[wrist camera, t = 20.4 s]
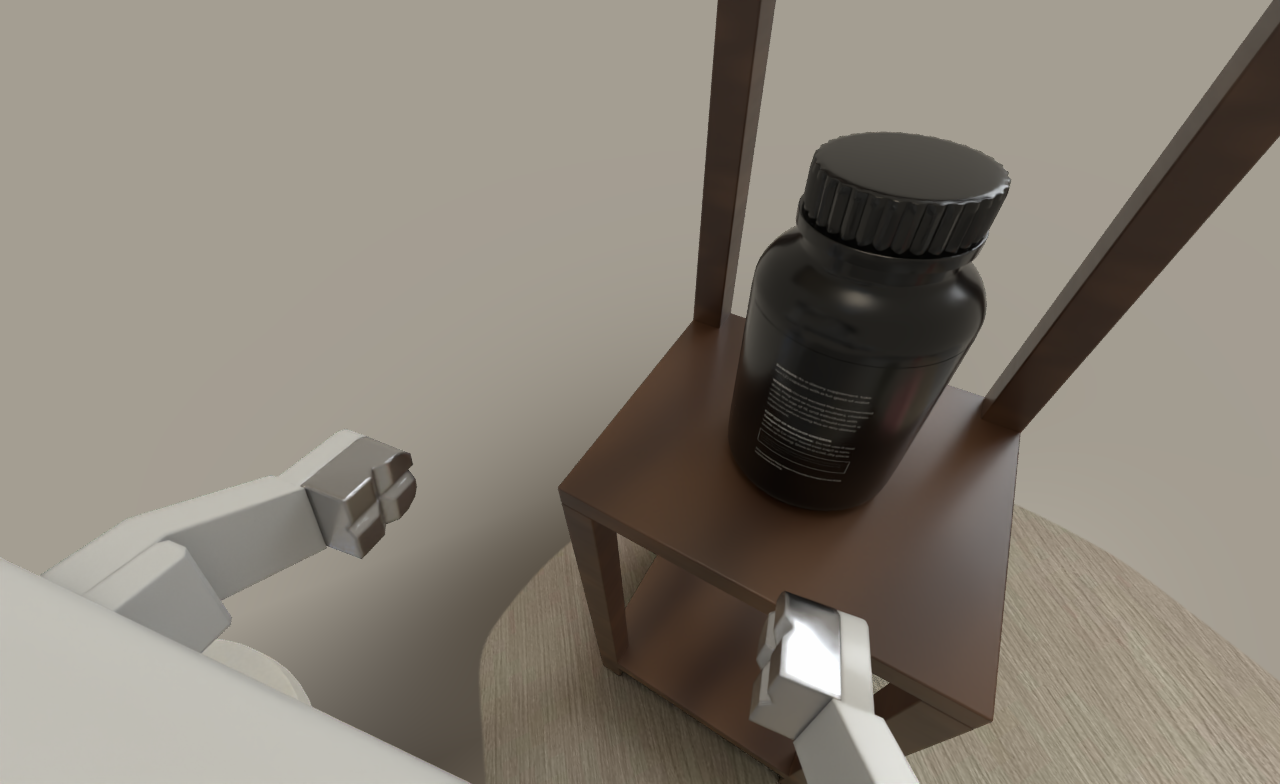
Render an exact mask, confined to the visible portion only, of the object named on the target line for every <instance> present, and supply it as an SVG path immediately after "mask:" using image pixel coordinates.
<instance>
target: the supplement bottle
mask: <svg viewBox="0 0 1280 784" xmlns="http://www.w3.org/2000/svg"><path fill="white" fill-rule="evenodd" d="M1008 174H1009V173H1008V171H1006V170H1005V169H1004V168H1003V165H1002V164H1000V163H998V162H996V161H995V160H994V158H992V157H990V156H988V155H985V154H984V153H983V152H981V151H978V150H975V149H972V148H970V147H968V146H966V145H962V144H958V143H955V142H952V141H949V140H943V139H939V138H936V137H931V136H923V135H919V134H908V133H901V132H866V133H861V134H860V133H857V134H851V135H848V136H840V137H838V138H837V139H832V140H829V141H828V143H825V144H822V145H821V147H820V148H819V149H818V150H816V152H815V154H814V157H813V160H812V162H811V166H810V170H809V174H808V179H807V184H806V187H805V192H804V194H803V195H802V197H801V198H800V201H799V204H798V209H797V215H796V224H797V225H796V226H794V227H793V228H790V229H789V230H787V231H785V232H784V233H782V234H781V235H780V236H779V237H777V238H776V239H775V240H774V241H773V242H772V243H771V244H770V245H769V246H768V248H767V249H766V250H765V251H764V253H763V254H762V256H761V257H760V259H759V261H758V264H757V266H756V270H755V273H754V277H753V282H752V287H751V292H750V298H749V304H748V310H747V316H746V321H745V327H744V333H743V339H742V345H741V351H740V356H739V362H738V368H737V374H736V380H735V386H734V392H733V397H732V403H731V409H730V417H729V424H728V440H729V445H730V449H731V452H732V455H733V457H734V459H735V461H736V463H737V465H738V466H739V468H740V469H741V471H742V472H743V473H744V474H745V476H746V477H747V478H748V479H749V480H750V481H751V482H752V483H753V484H754V485H755V486H757V487H758V488H759V489H760V490H762V491H763V492H765V493H766V494H768V495H769V496H771V497H773V498H775V499H777V500H779V501H781V502H783V503H786V504H788V505H791V506H794V507H798V508H802V509H806V510H812V511H839V510H845V509H849V508H853V507H856V506H858V505H861V504H863V503H865V502H866V501H868V500H870V499H871V498H873V497H874V496H876V495H877V494H878V493H879V492H880V491H881V490H882V489H883V487H884V486H885V485H886V484H887V482H888V481H889V479H890V478H891V476H892V475H893V473H894V471H895V470H896V469H897V467H898V465H899V464H900V462H901V460H902V459H903V457H904V455H905V454H906V452H907V451H908V449H909V447H910V446H911V444H912V442H913V441H914V439H915V437H916V436H917V434H918V432H919V431H920V429H921V427H922V426H923V424H924V423H925V421H926V419H927V418H928V416H929V414H930V413H931V411H932V409H933V408H934V406H935V404H936V403H937V401H938V399H939V398H940V396H941V395H942V393H943V391H944V390H945V388H946V386H947V385H948V383H949V381H950V380H951V378H952V376H953V375H954V373H955V371H956V370H957V368H958V367H959V365H960V363H961V362H962V360H963V358H964V356H965V355H966V353H967V352H968V350H969V348H970V347H971V345H972V343H973V342H974V340H975V338H976V336H977V334H978V332H979V330H980V329H981V327H982V325H983V322H984V319H985V315H986V307H987V303H986V292H985V288H984V284H983V281H982V278H981V276H980V274H979V272H978V271H977V269H976V267H975V266H974V264H973V263H972V262H971V261H973V260H974V259H975V258H976V257H977V256H978V254H979V253H980V251H981V249H982V247H983V245H984V244H985V242H986V240H987V238H988V235H989V229H990V227H991V225H992V223H993V221H994V219H995V217H996V216H997V214H998V212H999V210H1000V208H1001V206H1002V204H1003V202H1004V200H1005V198H1006V196H1007V194H1008V191H1009V186H1010V183H1011V179H1010V178H1009V177H1008Z"/></svg>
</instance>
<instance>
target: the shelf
mask: <svg viewBox="0 0 1280 784" xmlns="http://www.w3.org/2000/svg"><path fill="white" fill-rule="evenodd" d="M775 2H776V0H718V5H717V18H716V31H715V45H714V58H713V70H712V83H711V96H710V110H709V122H708V136H707V148H706V162H705V174H704V188H703V200H702V213H701V226H700V239H699V240H700V241H699V253H698V265H697V278H696V292H695V305H694V318H693V321H692V322H691V323H690V325H689V326H688V327H687V328H686V330H685V331H684V332H683V333H682V335H681V336H680V337H679V338H678V340H677V341H676V342H675V343H674V344H673V346H672V347H671V348H670V349H669V351H668V352H667V353H666V355H665V356H664V357H663V358H662V359H661V361H660V362H659V363H658V364H657V365H656V367H655V368H654V369H653V370H652V372H651V373H650V374H649V376H648V377H647V378H646V379H645V380H644V382H643V383H642V384H641V385H640V387H639V388H638V389H637V390H636V391H635V393H634V394H633V395H632V396H631V398H630V399H629V400H628V401H627V403H626V404H625V405H624V406H623V408H622V409H621V410H620V411H619V412H618V414H617V415H616V416H615V417H614V419H613V420H612V421H611V422H610V424H609V425H608V426H607V427H606V429H605V430H604V431H603V432H602V434H601V435H600V436H599V437H598V439H597V440H596V441H595V442H594V443H593V445H592V446H591V447H590V448H589V450H588V451H587V452H586V453H585V455H584V456H583V457H582V458H581V459H580V461H579V462H578V463H577V465H576V466H575V467H574V468H573V469H572V471H571V472H570V473H569V474H568V476H567V477H566V478H565V479H564V481H563V482H562V483H561V484H560V485H559V487H558V491H559V495H560V498H561V502H562V506H563V510H564V514H565V518H566V522H567V526H568V529H569V533H570V538H571V541H572V545H573V549H574V553H575V557H576V561H577V565H578V569H579V572H580V576H581V580H582V584H583V588H584V592H585V596H586V600H587V603H588V607H589V611H590V615H591V619H592V623H593V627H594V631H595V635H596V638H597V642H598V646H599V650H600V654H601V658H602V662H603V665H604V666H605V667H607V668H608V669H610V670H611V671H613V672H614V673H616V674H617V675H619V676H621V674H622V672H623V671H624V672H625V673H627V674H628V675H630V676H631V677H633V678H634V679H636V680H637V681H639V682H640V683H642V684H643V685H645V686H646V687H648V688H649V689H651V690H652V691H654V692H655V693H657V694H658V695H660V696H661V697H663V698H664V699H666V700H667V701H669V702H670V703H672V704H673V705H675V706H676V707H678V708H679V709H681V710H682V711H684V712H685V713H687V714H688V715H690V716H691V717H693V718H694V719H696V720H697V721H699V722H700V723H702V724H703V725H705V726H707V727H708V728H710V729H711V730H713V731H714V732H716V733H717V734H719V735H720V736H722V737H723V738H725V739H726V740H728V741H729V742H731V743H732V744H734V745H735V746H737V747H738V748H740V749H741V750H743V751H744V752H746V753H747V754H749V755H750V756H752V757H753V758H755V759H756V760H758V761H759V762H761V763H762V764H764V765H765V766H767V767H768V768H770V769H771V770H773V771H774V772H776V773H777V774H779V775H780V778H779V781H778V782H779V783H780V784H807V781H806V778H805V775H804V772H803V769H802V767H801V764H800V761H799V758H798V755H797V752H796V750H795V747H794V744H793V742H794V741H795V740H792V739H790V738H788V737H786V736H783V735H781V734H779V733H777V732H774V731H772V730H770V729H768V728H765V727H763V726H761V725H759V724H757V723H754V722H752V721H750V720H749V712H750V704H751V696H752V687H753V682H754V681H755V679H756V678H757V676H758V674H759V673H760V671H761V670H760V668H759V665H758V663H757V661H756V656H757V649H758V643H759V638H760V634H761V631H762V628H763V625H764V622H765V620H766V618H767V616H768V614H769V613H770V612H773V611H776V602H777V599H778V597H779V596H780V594H781V593H782V592H783V591H787V592H790V593H793V594H796V595H799V596H802V597H804V598H807V599H810V600H813V601H816V602H819V603H821V604H824V605H827V606H830V607H833V608H836V610H839V611H841V612H844V613H847V614H850V615H853V616H856V617H859V618H861V619H864V620H865V621H866V623H867V625H868V627H869V641H870V655H871V670H872V673H873V674H875V675H877V676H879V677H881V678H882V679H884V680H886V681H888V682H890V683H889V684H888V685H886V686H885V687H884V688H882V689H881V690H879V691H878V692H877V693H875V694H874V695H873V699H874V713H875V715H877V716H879V717H881V718H883V719H884V720H885V722H886V724H887V726H888V728H889V729H890V731H891V733H892V735H893V736H894V738H895V740H896V742H897V743H898V745H899V747H900V749H901V751H902V752H903V754H904V756H907V755H910V754H912V753H915V752H917V751H920V750H923V749H925V748H928V747H930V746H933V745H935V744H938V743H941V742H943V741H946V740H948V739H951V738H953V737H956V736H958V735H961V734H964V733H966V732H969V731H971V730H973V729H976V728H978V727H981V726H983V725H986V724H988V723H991V722H992V721H993V715H994V705H995V694H996V684H997V673H998V663H999V652H1000V642H1001V632H1002V621H1003V611H1004V600H1005V590H1006V579H1007V569H1008V558H1009V548H1010V538H1011V527H1012V517H1013V506H1014V495H1015V484H1016V474H1017V464H1018V454H1019V442H1020V433H1021V432H1022V431H1023V430H1024V428H1025V427H1026V426H1027V425H1028V424H1029V423H1030V422H1031V420H1032V419H1033V418H1034V417H1035V416H1036V414H1037V413H1038V412H1039V411H1040V410H1041V409H1042V408H1043V407H1044V406H1045V404H1046V403H1047V402H1048V401H1049V400H1050V399H1051V398H1052V396H1053V395H1054V394H1055V393H1056V392H1057V391H1058V389H1059V388H1060V387H1061V386H1062V385H1063V384H1064V383H1065V382H1066V380H1067V379H1068V378H1069V377H1070V376H1071V375H1072V373H1073V372H1074V371H1075V370H1076V369H1077V368H1078V367H1079V365H1080V364H1081V363H1082V362H1083V361H1084V360H1085V359H1086V357H1087V356H1088V355H1089V354H1090V353H1091V352H1092V351H1093V349H1094V348H1095V347H1096V346H1097V345H1098V344H1099V343H1100V341H1101V340H1102V339H1103V338H1104V337H1105V336H1106V335H1107V333H1108V332H1109V331H1110V330H1111V329H1112V328H1113V327H1114V325H1115V324H1116V323H1117V322H1118V321H1119V319H1121V317H1122V316H1123V315H1124V314H1125V313H1126V312H1127V311H1128V309H1129V308H1130V307H1131V306H1132V305H1133V304H1134V302H1135V301H1136V300H1137V299H1138V298H1139V297H1140V295H1141V294H1142V293H1143V292H1144V291H1145V290H1146V289H1147V287H1148V286H1149V285H1150V284H1151V283H1152V282H1153V281H1154V279H1155V278H1156V277H1157V276H1158V275H1159V274H1160V273H1161V272H1162V270H1163V269H1164V268H1165V267H1166V266H1167V265H1168V263H1169V262H1170V261H1171V260H1172V259H1173V258H1174V257H1175V255H1176V254H1177V253H1178V252H1179V251H1180V250H1181V249H1182V247H1183V246H1184V245H1185V244H1186V243H1187V242H1188V241H1189V239H1190V238H1191V237H1192V236H1193V235H1194V233H1196V231H1197V230H1198V229H1199V228H1200V227H1201V226H1202V224H1203V223H1204V222H1205V221H1206V220H1207V219H1208V218H1209V217H1210V215H1211V214H1212V213H1213V212H1214V211H1215V210H1216V209H1217V207H1218V206H1219V205H1220V204H1221V203H1222V202H1223V200H1224V199H1225V198H1226V197H1227V196H1228V195H1229V194H1230V192H1231V191H1232V190H1233V189H1234V188H1235V186H1237V184H1238V183H1239V182H1240V181H1241V180H1242V179H1243V178H1244V176H1245V175H1246V174H1247V173H1248V172H1249V171H1250V170H1251V168H1252V167H1253V166H1254V165H1255V164H1256V163H1257V161H1258V160H1259V159H1260V158H1261V157H1262V156H1263V155H1264V154H1265V152H1266V151H1267V150H1268V149H1269V148H1270V147H1271V145H1272V144H1273V143H1274V142H1275V141H1276V140H1277V139H1278V137H1279V136H1280V0H1273V1H1272V3H1271V4H1270V5H1269V7H1268V8H1267V10H1266V11H1265V12H1264V14H1263V15H1262V17H1261V18H1260V19H1259V20H1258V22H1257V23H1256V25H1255V26H1254V27H1253V29H1252V30H1251V32H1250V33H1249V34H1248V36H1247V37H1246V39H1245V40H1244V41H1243V43H1242V44H1241V45H1240V47H1239V48H1238V50H1237V51H1236V52H1235V54H1234V55H1233V56H1232V58H1231V59H1230V60H1229V62H1228V63H1227V65H1226V66H1225V67H1224V69H1223V70H1222V72H1221V73H1220V74H1219V76H1218V77H1217V78H1216V80H1215V81H1214V83H1213V84H1212V85H1211V87H1210V88H1209V90H1208V91H1207V92H1206V93H1205V95H1204V96H1203V98H1202V99H1201V101H1200V102H1199V103H1198V104H1197V106H1196V107H1195V109H1194V110H1193V111H1192V113H1191V114H1190V115H1189V117H1188V118H1187V120H1186V121H1185V122H1184V124H1183V125H1182V126H1181V128H1180V129H1179V131H1178V132H1177V133H1176V135H1175V136H1174V137H1173V139H1172V140H1171V142H1170V143H1169V145H1168V146H1167V147H1166V149H1165V150H1164V151H1163V153H1162V154H1161V155H1160V157H1159V158H1158V160H1157V161H1156V162H1155V164H1154V165H1153V166H1152V168H1151V169H1150V171H1149V172H1148V173H1147V175H1146V176H1145V177H1144V179H1143V180H1142V182H1141V183H1140V184H1139V186H1138V187H1137V188H1136V190H1135V191H1134V193H1133V194H1132V195H1131V197H1130V198H1129V199H1128V201H1127V202H1126V204H1125V205H1124V206H1123V208H1122V209H1121V210H1120V212H1119V214H1118V215H1117V216H1116V217H1115V219H1114V220H1113V222H1112V223H1111V224H1110V226H1109V227H1108V228H1107V230H1106V231H1105V233H1104V234H1103V235H1102V237H1101V238H1100V239H1099V241H1098V242H1097V244H1096V245H1095V246H1094V248H1093V249H1092V250H1091V252H1090V253H1089V254H1088V256H1087V257H1086V259H1085V260H1084V261H1083V263H1082V264H1081V266H1080V267H1079V268H1078V270H1077V271H1076V272H1075V274H1074V275H1073V277H1072V278H1071V279H1070V281H1069V282H1068V283H1067V285H1066V286H1065V288H1064V289H1063V290H1062V292H1061V293H1060V294H1059V296H1058V297H1057V299H1056V300H1055V301H1054V303H1053V304H1052V306H1051V307H1050V308H1049V310H1048V311H1047V312H1046V314H1045V315H1044V316H1043V318H1042V319H1041V321H1040V322H1039V323H1038V325H1037V326H1036V327H1035V329H1034V330H1033V332H1032V333H1031V334H1030V336H1029V337H1028V338H1027V340H1026V341H1025V343H1024V344H1023V345H1022V347H1021V348H1020V350H1019V351H1018V352H1017V354H1016V355H1015V356H1014V358H1013V359H1012V361H1011V362H1010V363H1009V365H1008V366H1007V367H1006V369H1005V370H1004V372H1003V373H1002V374H1001V376H1000V377H999V378H998V380H997V381H996V383H995V384H994V385H993V387H992V388H991V389H990V391H989V392H988V394H987V395H986V396H985V397H983V396H980V395H976V394H974V393H971V392H968V391H964V390H962V389H958V388H955V387H952V386H949V385H947V386H946V388H945V390H944V391H943V393H942V395H941V396H940V398H939V399H938V401H937V403H936V404H935V406H934V408H933V409H932V411H931V413H930V414H929V416H928V418H927V419H926V421H925V423H924V424H923V426H922V427H921V429H920V431H919V432H918V434H917V436H916V437H915V439H914V441H913V442H912V444H911V446H910V447H909V449H908V451H907V452H906V454H905V455H904V457H903V459H902V460H901V462H900V464H899V465H898V467H897V469H896V470H895V471H894V473H893V475H892V476H891V478H890V479H889V481H888V482H887V484H886V485H885V486H884V487H883V489H882V490H881V491H880V492H879V493H878V494H877V495H876V496H874V497H873V498H871V499H870V500H868V501H866V502H865V503H863V504H861V505H858V506H856V507H853V508H849V509H845V510H839V511H812V510H806V509H802V508H798V507H794V506H791V505H788V504H786V503H783V502H781V501H779V500H777V499H775V498H773V497H771V496H769V495H768V494H766V493H765V492H763V491H762V490H760V489H759V488H758V487H757V486H755V485H754V484H753V483H752V482H751V481H750V480H749V479H748V478H747V477H746V476H745V474H744V473H743V472H742V471H741V469H740V468H739V466H738V465H737V463H736V461H735V459H734V457H733V455H732V452H731V449H730V445H729V440H728V424H729V417H730V409H731V403H732V397H733V392H734V386H735V380H736V374H737V368H738V362H739V356H740V351H741V345H742V339H743V333H744V327H745V321H746V318H743V317H740V316H737V315H734V314H731V307H732V300H733V293H734V286H735V279H736V272H737V265H738V259H739V251H740V244H741V238H742V231H743V224H744V217H745V209H746V203H747V196H748V189H749V182H750V175H751V168H752V162H753V155H754V147H755V141H756V134H757V126H758V120H759V113H760V106H761V99H762V93H763V85H764V78H765V71H766V65H767V58H768V51H769V44H770V37H771V30H772V23H773V16H774V9H775ZM616 533H618V534H620V535H622V536H624V537H626V538H627V539H629V540H631V541H633V542H635V543H636V544H638V545H640V546H642V547H644V548H646V549H647V550H649V551H651V552H653V553H655V554H656V555H657V556H656V557H655V559H654V561H653V562H652V564H651V566H650V568H649V569H648V571H647V573H646V574H645V576H644V578H643V579H642V581H641V583H640V584H639V586H638V588H637V589H636V591H635V593H634V595H633V596H632V598H631V600H630V601H629V603H628V605H627V606H626V608H625V605H624V596H623V587H622V578H621V569H620V560H619V551H618V542H617V534H616Z"/></svg>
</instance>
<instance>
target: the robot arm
mask: <svg viewBox="0 0 1280 784" xmlns="http://www.w3.org/2000/svg"><path fill="white" fill-rule="evenodd" d="M412 465H413V463H412V458H411V454H410V453H407V452H405V451H403V450H400V449H397V448H395V447H392V446H390V445H387V444H385V443H382V442H380V441H377V440H374V439H372V438H369V437H367V436H365V435H362V434H359V433H356V432H354V431H351V430H348V429H345V430H342V431H338V432H336V433H335V434H334V435H332V436H331V437H330V438H328V439H327V440H326V441H325V442H323V443H322V444H320V445H319V446H318V447H316V448H315V449H314V450H313V451H311V452H310V453H309V454H307V455H306V456H305V457H303V458H302V459H301V460H299V461H298V462H297V463H295V464H294V465H293V466H292V467H290V468H289V469H287V470H286V471H285V472H283V473H282V474H281V475H279V476H278V477H276V476H273V475H270V476H267V477H264V478H260V479H256V480H253V481H250V482H246V483H243V484H240V485H236V486H233V487H230V488H226V489H223V490H220V491H216V492H213V493H210V494H207V495H203V496H200V497H197V498H193V499H190V500H187V501H183V502H180V503H176V504H173V505H170V506H167V507H163V508H160V509H156V510H154V511H150V512H146V513H143V514H140V515H137V516H133V517H130V518H127V519H125V520H123V521H122V522H121V523H119V524H117V525H116V526H114V527H113V528H111V529H110V530H108V531H107V532H105V533H104V534H102V535H101V536H99V537H98V538H96V539H94V540H93V541H92V542H90V543H89V544H87V545H85V546H84V547H82V548H81V549H79V550H78V551H76V552H75V553H73V554H72V555H70V556H69V557H67V558H65V559H64V560H62V561H61V562H59V563H58V564H57V565H55V566H53V567H52V568H51V569H49V570H47V571H46V572H44V573H43V574H41V575H40V576H39V575H37V574H35V573H32V572H30V571H28V570H26V569H24V568H22V567H20V566H18V565H16V564H14V563H12V562H10V561H8V560H5V559H3V558H1V557H0V784H471V783H469V782H467V781H465V780H463V779H461V778H459V777H457V776H455V775H453V774H451V773H448V772H446V771H444V770H442V769H440V768H438V767H436V766H434V765H432V764H429V763H428V762H426V761H423V760H421V759H419V758H417V757H415V756H413V755H411V754H409V753H407V752H405V751H403V750H401V749H399V748H397V747H394V746H392V745H390V744H388V743H386V742H384V741H382V740H380V739H378V738H376V737H374V736H372V735H369V734H367V733H365V732H363V731H361V730H359V729H357V728H355V727H353V726H351V725H349V724H346V723H345V722H343V721H340V720H338V719H336V718H334V717H332V716H330V715H328V714H325V713H324V712H321V711H320V710H318V709H315V708H313V707H311V706H309V705H307V704H305V703H303V702H301V701H299V700H297V699H295V698H293V697H291V696H288V695H286V694H284V693H282V692H280V691H278V690H276V689H274V688H272V687H270V686H268V685H266V684H263V683H261V682H259V681H257V680H255V679H253V678H251V677H249V676H247V675H245V674H243V673H241V672H238V671H236V670H234V669H232V668H230V667H228V666H226V665H224V664H222V663H220V662H218V661H216V660H214V659H211V658H209V657H207V656H205V655H203V654H201V653H202V652H203V651H204V650H205V649H206V648H207V647H208V646H209V645H210V644H211V643H213V642H214V641H215V640H216V639H217V638H218V637H219V636H220V635H221V634H222V633H223V632H224V631H225V630H226V629H227V628H228V627H229V626H230V625H231V619H232V617H231V615H230V614H229V612H228V611H227V609H226V608H225V606H224V605H223V603H222V602H221V600H223V599H225V598H227V597H229V596H231V595H233V594H235V593H237V592H239V591H241V590H244V589H245V588H247V587H250V586H252V585H254V584H256V583H258V582H260V581H262V580H264V579H266V578H268V577H270V576H272V575H274V574H276V573H278V572H279V571H282V570H284V569H286V568H288V567H290V566H292V565H294V564H296V563H298V562H300V561H302V560H304V559H306V558H308V557H310V556H312V555H314V554H316V553H318V552H320V551H322V550H324V549H326V548H327V547H326V546H329V547H331V548H334V549H336V550H339V551H342V552H344V553H347V554H350V555H352V556H355V557H358V558H360V559H362V558H363V557H364V556H365V555H366V554H367V553H368V552H369V551H370V550H371V549H372V548H373V547H374V546H375V545H376V544H377V542H379V540H380V539H381V538H382V537H383V536H384V535H385V528H386V524H388V523H391V522H393V521H395V520H398V519H400V518H401V517H402V516H403V514H404V513H405V512H406V511H407V510H408V509H409V507H410V505H411V503H412V501H413V499H414V497H415V494H416V488H417V486H416V479H415V478H414V476H413V475H412V474H411V472H410V471H409V470H408V469H409V468H410V467H411V466H412ZM756 661H757V663H758V665H759V668H760V670H761V671H760V673H759V674H758V676H757V678H756V679H755V681H754V682H753V687H752V696H751V704H750V712H749V720H750V721H752V722H754V723H757V724H759V725H761V726H763V727H765V728H768V729H770V730H772V731H774V732H777V733H779V734H781V735H783V736H786V737H788V738H790V739H792V740H795V741H794V742H793V744H794V747H795V750H796V752H797V755H798V758H799V761H800V764H801V767H802V769H803V772H804V775H805V778H806V781H807V784H920V783H919V781H918V779H917V777H916V775H915V774H914V772H913V770H912V768H911V767H910V765H909V763H908V761H907V759H906V758H905V756H904V754H903V752H902V751H901V749H900V747H899V745H898V743H897V742H896V740H895V738H894V736H893V735H892V733H891V731H890V729H889V728H888V726H887V724H886V722H885V720H884V719H883V718H881V717H879V716H877V715H875V713H874V699H873V684H872V670H871V655H870V641H869V627H868V625H867V623H866V621H865V620H864V619H861V618H859V617H856V616H853V615H850V614H847V613H844V612H841V611H839V610H836V608H833V607H830V606H827V605H824V604H821V603H819V602H816V601H813V600H810V599H807V598H804V597H802V596H799V595H796V594H793V593H790V592H787V591H783V592H782V593H781V594H780V596H779V597H778V599H777V602H776V611H773V612H770V613H769V614H768V616H767V618H766V620H765V622H764V625H763V628H762V631H761V634H760V638H759V643H758V649H757V656H756Z"/></svg>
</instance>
